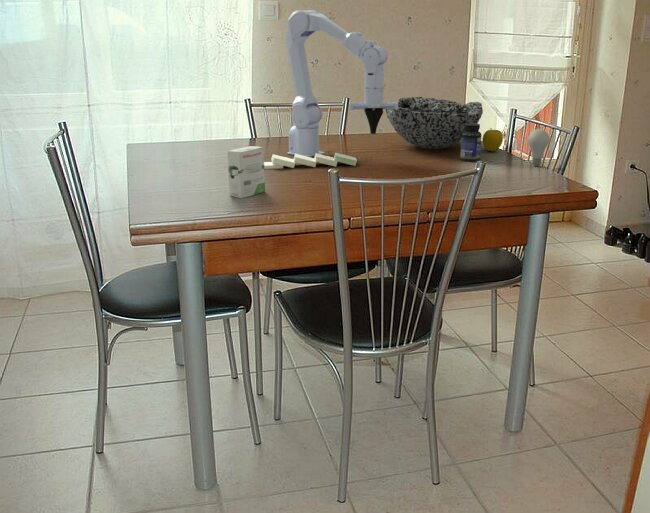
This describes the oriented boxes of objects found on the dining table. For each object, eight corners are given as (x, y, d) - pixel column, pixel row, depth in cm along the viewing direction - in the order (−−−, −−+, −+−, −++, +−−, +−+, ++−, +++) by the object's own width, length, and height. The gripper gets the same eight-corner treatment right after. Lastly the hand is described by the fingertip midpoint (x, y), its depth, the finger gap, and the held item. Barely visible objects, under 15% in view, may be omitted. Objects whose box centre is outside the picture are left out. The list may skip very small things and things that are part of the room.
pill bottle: (479, 162, 221) (482, 126, 217) (459, 161, 222) (461, 125, 218) (479, 158, 227) (482, 122, 223) (460, 157, 228) (462, 122, 224)
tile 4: (336, 166, 216) (315, 161, 216) (334, 163, 221) (314, 158, 220) (337, 161, 216) (316, 156, 215) (336, 158, 221) (315, 153, 220)
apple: (480, 152, 235) (481, 128, 232) (483, 149, 240) (485, 125, 238) (500, 154, 233) (502, 129, 230) (503, 150, 238) (505, 126, 236)
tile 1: (283, 170, 215) (261, 170, 214) (282, 166, 220) (260, 167, 219) (283, 165, 214) (261, 165, 214) (282, 161, 219) (260, 162, 218)
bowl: (374, 153, 235) (375, 106, 230) (398, 137, 263) (400, 95, 258) (471, 159, 225) (474, 110, 220) (486, 142, 253) (489, 98, 248)
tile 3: (315, 167, 216) (293, 162, 215) (314, 163, 220) (293, 158, 220) (316, 162, 215) (295, 156, 214) (315, 158, 220) (295, 153, 219)
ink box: (252, 189, 191) (251, 144, 187) (266, 192, 188) (264, 146, 184) (228, 195, 184) (226, 149, 181) (242, 198, 181) (239, 152, 178)
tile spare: (355, 166, 217) (334, 160, 216) (354, 162, 222) (334, 157, 221) (356, 160, 216) (335, 155, 216) (356, 157, 221) (335, 152, 220)
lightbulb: (547, 164, 217) (551, 128, 213) (546, 169, 211) (550, 131, 208) (526, 163, 219) (529, 127, 215) (524, 167, 213) (528, 130, 210)
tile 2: (293, 168, 215) (272, 163, 213) (292, 164, 219) (271, 159, 218) (295, 162, 214) (274, 157, 213) (293, 159, 219) (272, 154, 217)
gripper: (351, 89, 212) (350, 135, 217) (400, 89, 213) (398, 135, 218) (348, 86, 219) (348, 131, 223) (396, 86, 220) (394, 131, 224)
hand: (373, 133), depth 221 cm, fingers closed
